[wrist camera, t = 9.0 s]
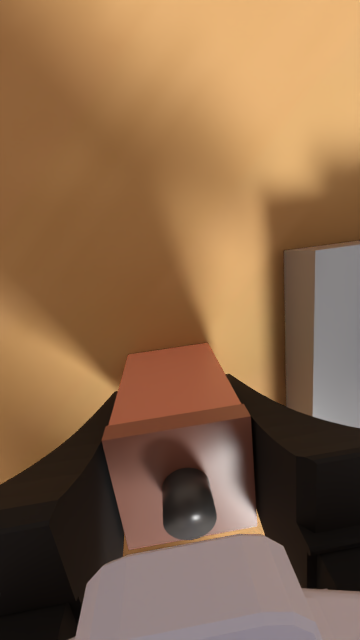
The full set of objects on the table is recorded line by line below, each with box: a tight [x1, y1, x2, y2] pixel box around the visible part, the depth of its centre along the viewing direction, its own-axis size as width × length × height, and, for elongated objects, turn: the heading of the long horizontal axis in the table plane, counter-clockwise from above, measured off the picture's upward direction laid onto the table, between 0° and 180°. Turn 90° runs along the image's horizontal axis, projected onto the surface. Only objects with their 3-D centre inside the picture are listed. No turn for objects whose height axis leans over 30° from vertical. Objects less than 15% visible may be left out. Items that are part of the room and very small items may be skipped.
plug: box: [102, 343, 257, 550], centre depth 10 cm, size 4×4×7 cm
